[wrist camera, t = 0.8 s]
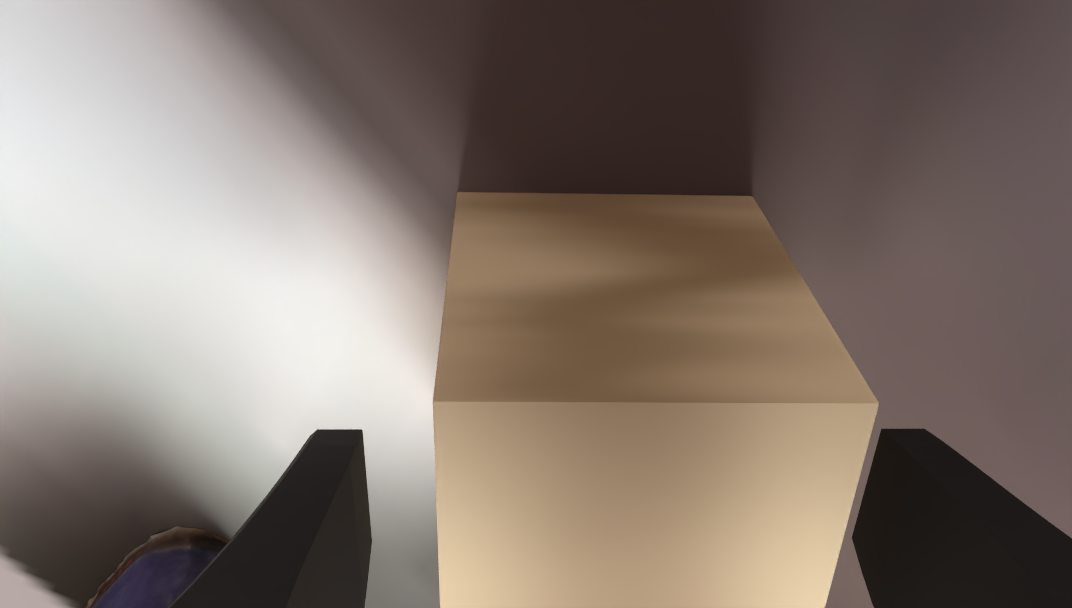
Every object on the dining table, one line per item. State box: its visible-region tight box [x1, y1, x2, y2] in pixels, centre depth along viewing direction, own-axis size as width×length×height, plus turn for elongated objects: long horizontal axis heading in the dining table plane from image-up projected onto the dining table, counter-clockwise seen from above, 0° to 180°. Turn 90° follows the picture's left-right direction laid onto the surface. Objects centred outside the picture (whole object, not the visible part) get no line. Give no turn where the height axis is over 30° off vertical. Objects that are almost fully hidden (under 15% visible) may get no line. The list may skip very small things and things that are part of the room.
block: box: [433, 192, 879, 608], centre depth 14 cm, size 5×5×6 cm
